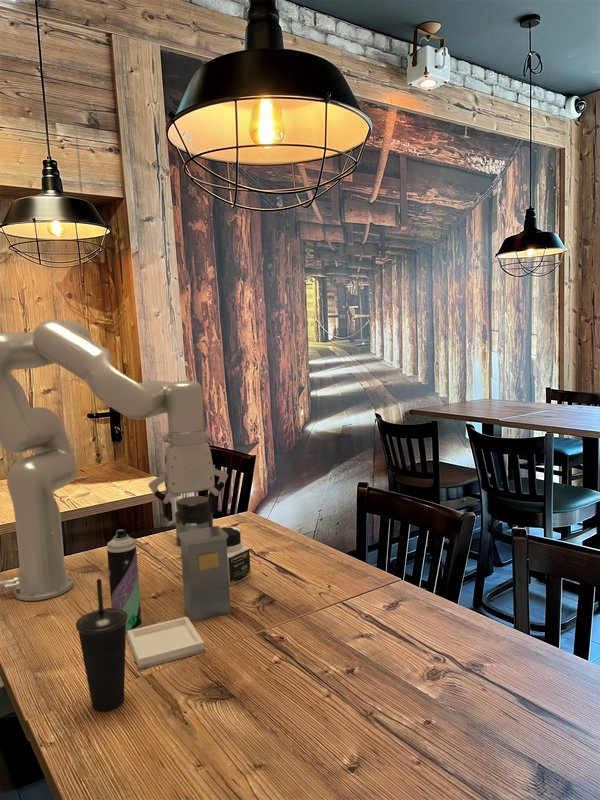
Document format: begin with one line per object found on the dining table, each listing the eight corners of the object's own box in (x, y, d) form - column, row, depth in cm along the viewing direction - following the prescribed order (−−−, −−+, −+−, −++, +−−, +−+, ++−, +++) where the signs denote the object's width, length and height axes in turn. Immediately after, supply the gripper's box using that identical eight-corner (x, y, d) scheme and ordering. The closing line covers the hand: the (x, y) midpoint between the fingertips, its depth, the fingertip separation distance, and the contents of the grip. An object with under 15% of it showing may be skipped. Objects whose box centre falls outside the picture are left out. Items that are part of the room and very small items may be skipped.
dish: (139, 669, 102) (138, 659, 102) (127, 639, 113) (127, 630, 113) (204, 651, 107) (203, 642, 107) (187, 625, 118) (187, 616, 118)
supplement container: (202, 533, 175) (200, 493, 174) (221, 541, 167) (218, 500, 166) (170, 541, 169) (167, 500, 167) (187, 551, 160) (184, 507, 159)
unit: (191, 623, 119) (186, 541, 117) (183, 610, 124) (178, 532, 123) (232, 613, 122) (228, 534, 121) (222, 601, 128) (218, 525, 126)
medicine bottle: (230, 586, 136) (227, 535, 134) (208, 580, 140) (205, 530, 139) (251, 576, 141) (249, 527, 140) (229, 570, 146) (227, 522, 144)
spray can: (107, 632, 116) (99, 533, 114) (123, 619, 121) (116, 524, 119) (131, 635, 114) (124, 535, 112) (146, 622, 120) (140, 526, 118)
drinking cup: (115, 682, 99) (106, 566, 97) (143, 698, 94) (134, 577, 92) (72, 705, 93) (62, 582, 91) (100, 724, 88) (89, 594, 86)
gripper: (149, 445, 120) (155, 527, 122) (230, 436, 128) (234, 514, 129) (142, 440, 127) (147, 518, 129) (219, 432, 135) (223, 505, 136)
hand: (191, 516), depth 129 cm, fingers open, 9 cm apart
